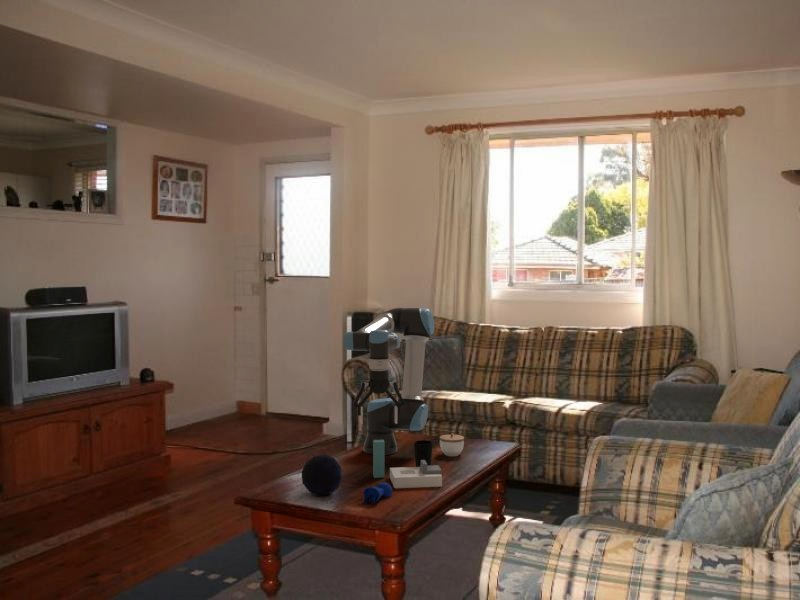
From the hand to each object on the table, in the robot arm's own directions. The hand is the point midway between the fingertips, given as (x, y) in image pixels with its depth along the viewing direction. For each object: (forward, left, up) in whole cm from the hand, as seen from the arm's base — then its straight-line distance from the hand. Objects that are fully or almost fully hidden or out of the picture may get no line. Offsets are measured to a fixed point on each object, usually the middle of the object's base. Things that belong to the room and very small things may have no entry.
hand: (378, 423), depth 308 cm
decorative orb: (+21, -23, -21) cm, 38 cm away
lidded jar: (-30, +35, -21) cm, 51 cm away
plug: (0, 0, -21) cm, 21 cm away
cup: (-4, +18, -21) cm, 28 cm away
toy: (+28, -3, -21) cm, 36 cm away
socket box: (+10, +13, -21) cm, 27 cm away
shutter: (+10, +19, -17) cm, 27 cm away
